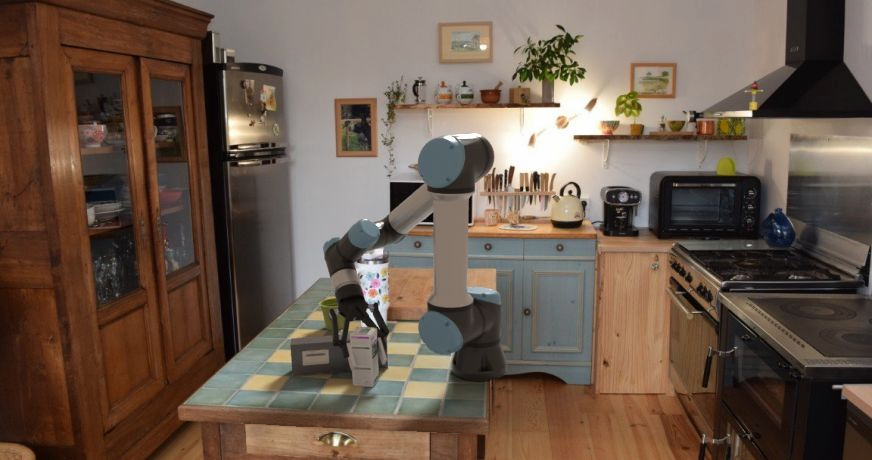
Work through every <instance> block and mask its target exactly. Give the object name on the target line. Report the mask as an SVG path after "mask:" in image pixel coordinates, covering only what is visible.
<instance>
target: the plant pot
mask: <svg viewBox="0 0 872 460" xmlns="http://www.w3.org/2000/svg"><path fill="white" fill-rule="evenodd" d="M318 305H319V306H320V309H321V311H322V315H323V320H324V325H325V329H326V330H328V331H332V327H331V320H330V318H329V316H328V314H329V311H330V309H334V310H335V309H338V304H337V301H336V297H331V298H326V299H323V300H321V301H320V302H319V303H318ZM344 320H345V318H344V317H343V316H341V315H340V314H339V313H338V316H337V322H338V331H339V330H343V327H344Z"/></svg>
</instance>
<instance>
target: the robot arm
mask: <svg viewBox="0 0 872 460" xmlns="http://www.w3.org/2000/svg"><path fill="white" fill-rule="evenodd" d="M494 163H495V150H494V148H493V145H492V144H491V142H490V141H489V140H488V139H487V138H486V137H484V136H483V135H481V134H479V133H474V132H467V133H461V134H459V133H458V134H445V135H440V136H438V137H434V138H432V139H430V140H428V142H426V143H425V145H424V146H423V147H422V148H421V150H420V152H419V154H418V158H417V170H418V173H419V177H421V179H422V181H423V182H424V183H423V184H422V185H420V187H419V188H417V189H416V190H414V192H413V193H412V194H411V195H409V196H408V197H407V198H406V199H405V200H403V201H402V202H401V203H399V205H398V206H396V207H395V208H394V209H393V210H392V211H390V213H388V214H387V215H386V216H385V217H384V218H382V219H380V220H377V221H373V220H371V219H367V218H362V219H361V218H360V219H359V220H357V221H356V222H355V223H353V225H352V226H350V228H349V229H348V230H347V231H346V233H345V234H344V235H343V236H342V237H341V236H335V237H331V238H330V239H329V240H327V241H325V242H324V243H323V246H322V250H323V251H322V252H323V255H324V261H325V264H326V268H327V270H328V274H329V279H330V281H331V286H332V289H333V292H334V298H336V301H337V304H338V309H335V310H334V309H330V311H329V314H328V316H329V318H330V320H331V327H332V330H331V335H332V339H333V346H335V347H336V346H340V348H341V349H342V352H343V356H344V358H348V361H349V365H350V368H351V370H354V369H355V366H356V364H355V361H354V357H353V353H352V350H351V346H350V343H347V344H346V341H347V335H348V334H349V329H350V322H354V321H361V322H362V323H363V324H364V325H365V327H374V328H377V342H378V352H379V355H380V359H381V362H382V365H383V364H385V363H386V361H387V357H386V354H385V351H386V349H387V350H388V345H387V346H386V342H385V339H384V338H387V339H388V336H389V335H390V329H389V328H388V325H387V324H386V321H385V320H384V318H383V315H382V313H381V312H380V310H379V303H378V302H376V301H375V302H374V303H368V302H367V301H366V298H365V295H364V290H363V287H362V286H361V281H360V278H359V275H358V271H357V268H356V262H358V261H359V260H360V259H361V257H363V256H364V255H365V254H367V253H368V252H371V251H374V250H378V249H382V248H384V247H387V246H391V245H397V244H399V243H400V242H403V241H405V240H406V239H407V238H408V236H409V235H408V234H409V233H410V231H412V229H414V228H415V227H416V226H418V225H419V224H420V223H421V222H423V221H424V220H425V219H427V218H428V217H429V216H430V215H432V214H433V215H432V216H433V219H432V221H433V223H432V224H433V225H432V226H433V227H432V228H433V230H432V232H433V233H432V234H433V236H432V237H433V238H432V240H433V242H432V243H433V244H432V245H433V246H432V248H433V251H432V254H433V255H432V257H433V258H432V259H433V261H432V263H433V264H432V265H433V269H432V272H433V273H432V276H433V278H432V279H433V281H432V289H433V291H432V293H430V294H429V296H427V299H426V309H427V310H426V312H424V313H423V314H422V316H421V317H420V319H419V321H418V325H417V326H418V334H419V336H420V339H421V341H422V343H423V344H424V345H426V347H427V348H428V349H429V351H431V352H433V353H435V354H437V355H441V356H447V355H450V354H453V353H454V354H453V358H452V361H451V371H452V374H453V375H454V376H456V377H458V378H460V379H462V380H466V381H472V382H488V381H493V380H498V379H500V378H502V377H504V376H505V375H506V374H508V373H507V372H508V361H507V358H506V355H505V353H504V348H503V346H502V340H501V339H502V331H501V330H502V329H501V328H502V323H501V322H502V303H501V294H500V292H499V291H497V290H495V289H492V288H490V287H483V286H482V287H481V286H469V285H468V284H469V283H468V282H469V279H468V277H469V275H468V273H469V208H470V206H469V202H470V201H469V199H470V197H472V196H473V195H474V194H475V192H476V183H478V182H479V181H480V180H481V179H483V178H484V177H485V176H487V174H489V173H490V172H491V170H492V168H493V166H494ZM367 310H369V311H370V313H372V315H373V318H374V320H373V319H372V318H371V316H370V314H369V313H368V312H367ZM338 313H339V314H340V315H341V316H343V317H344V318H345V320H344V327H343V329H342V333H341V335H342V338H341V340H339V335H340V334H339V330H338V322H337V316H338ZM374 321H375V322H376V323H375V322H374Z"/></svg>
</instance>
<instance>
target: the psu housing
mask: <svg viewBox="0 0 872 460" xmlns="http://www.w3.org/2000/svg"><path fill="white" fill-rule="evenodd" d="M350 334H351V333H348V335H347V341H346V344H347V343H350ZM341 338H342V334H339V340H341ZM384 339H385V342H386V346H387V347H388V337H387V338H384ZM350 346H351V345H350ZM385 354H386V357H387V361H386V363H385V364H383V365H382V362H381V359H380V355H379V352H378V361H379V370H383V369H384V368H385V369H389V363H388V362H389V361H388V359H389V358H388V348H387V349H386V351H385ZM290 357H291V358H290V359H291V372H292V377H300V376H301V377H302V376H313V375H325V374H335V373H338V374H339V373H346V372H350V373H351V372H352V370H351V368H350V365H349V361H348V358H344V356H343V352H342V349H341V348H340V346H336V347H335V346H333V339H332V334H331V335H319V336H307V337H306V336H305V337H294V338H293V337H292V338H291V339H290ZM385 369H384V370H385Z"/></svg>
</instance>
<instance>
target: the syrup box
mask: <svg viewBox="0 0 872 460" xmlns="http://www.w3.org/2000/svg"><path fill="white" fill-rule="evenodd" d="M349 334H350V345H351V350H352V353H353V357H354V361H355V364H356V366H355V369H354V370H352V371H351V376H352V386H355V387H363V388H365V387H366V388H374V387H375V385H376V384H377V382H378V381H379V379H380V369H379V361H378V342H377V328H374V327H367V326H356V327H355V329H354V330H352V332H351V333H349Z"/></svg>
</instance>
